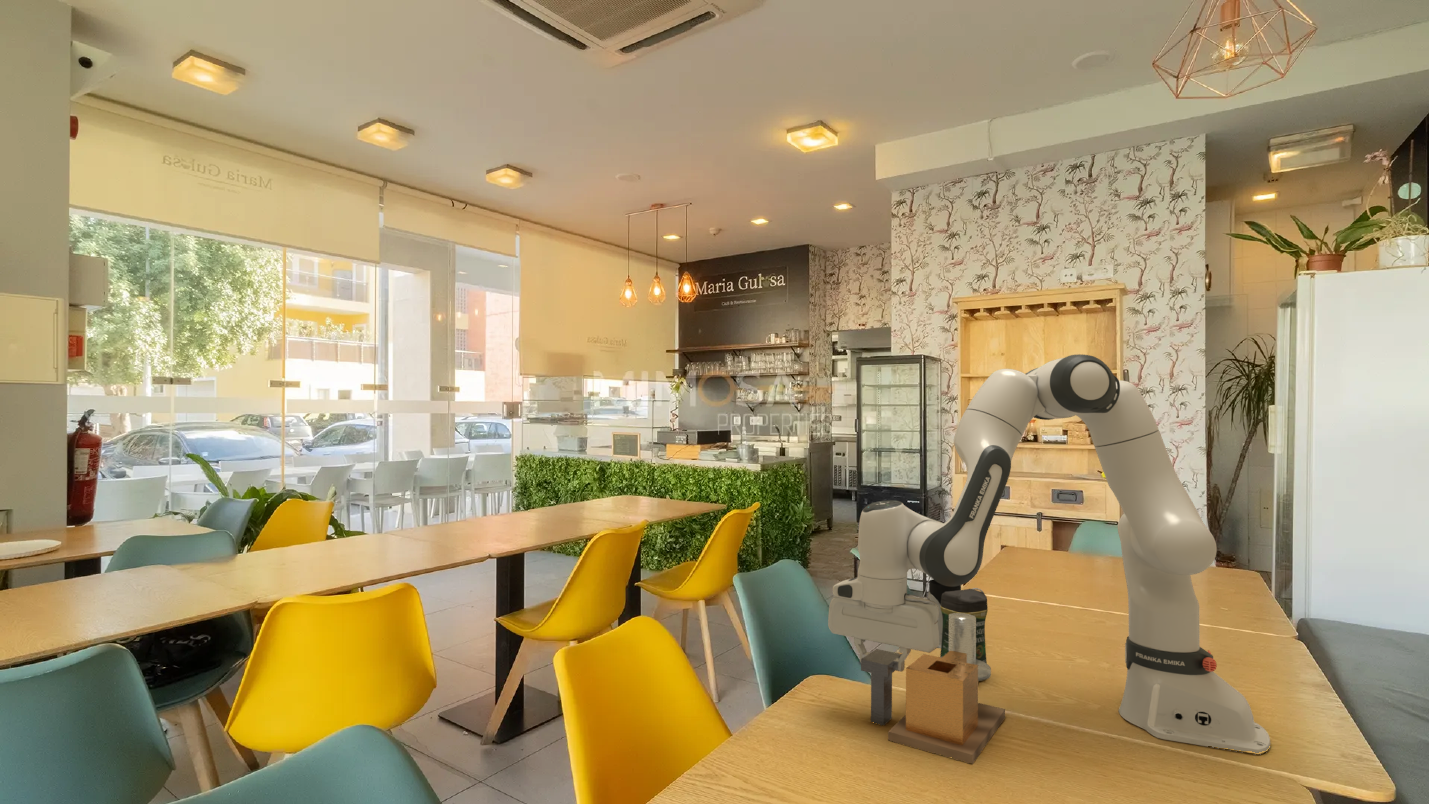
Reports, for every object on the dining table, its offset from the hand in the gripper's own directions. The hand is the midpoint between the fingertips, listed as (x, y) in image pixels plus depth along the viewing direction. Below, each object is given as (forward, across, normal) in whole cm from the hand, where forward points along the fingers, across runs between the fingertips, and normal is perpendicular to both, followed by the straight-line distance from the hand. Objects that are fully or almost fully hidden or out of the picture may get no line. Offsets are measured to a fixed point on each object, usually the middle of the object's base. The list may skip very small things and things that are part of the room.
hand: (881, 666), depth 128 cm
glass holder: (+10, +2, -53) cm, 54 cm away
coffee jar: (+10, -6, -31) cm, 33 cm away
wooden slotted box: (+8, -11, -6) cm, 15 cm away
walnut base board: (+10, -11, -3) cm, 15 cm away
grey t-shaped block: (+10, 0, 0) cm, 10 cm away
